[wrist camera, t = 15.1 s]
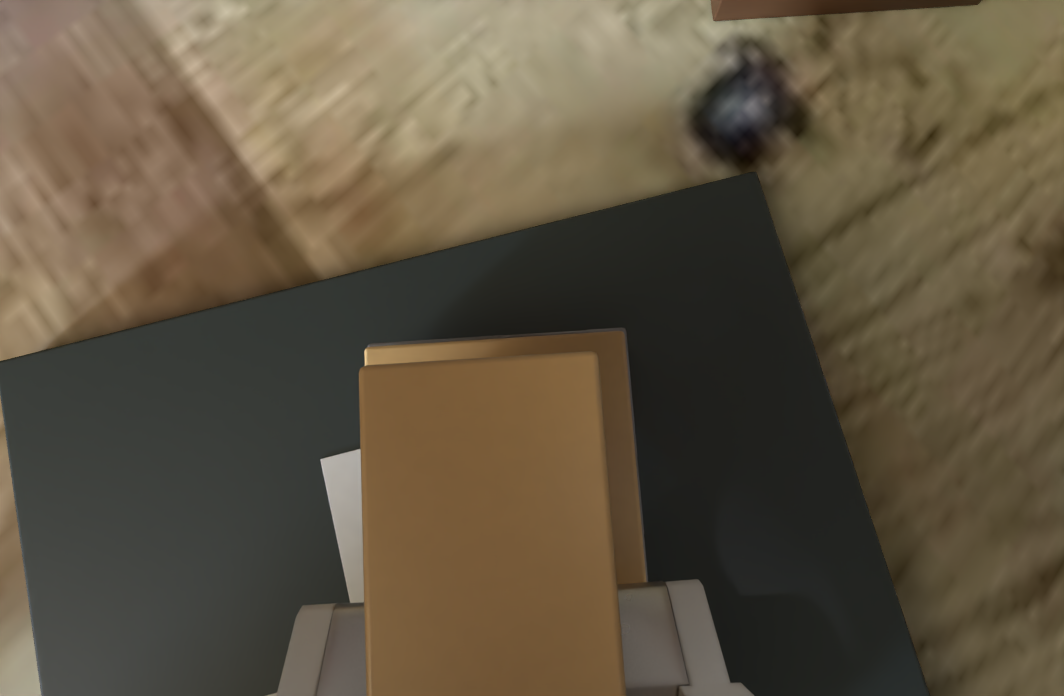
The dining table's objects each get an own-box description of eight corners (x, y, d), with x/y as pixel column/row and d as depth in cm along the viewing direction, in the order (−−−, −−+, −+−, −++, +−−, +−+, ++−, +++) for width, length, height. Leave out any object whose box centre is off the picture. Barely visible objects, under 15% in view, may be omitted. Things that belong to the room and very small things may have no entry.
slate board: (747, 182, 19) (757, 169, 18) (978, 884, 16) (1002, 906, 15) (18, 367, 18) (-7, 361, 17) (126, 1132, 15) (103, 1169, 14)
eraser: (616, 343, 17) (688, 218, 9) (663, 890, 15) (808, 1340, 7) (383, 357, 17) (252, 245, 9) (400, 908, 15) (250, 1383, 7)
